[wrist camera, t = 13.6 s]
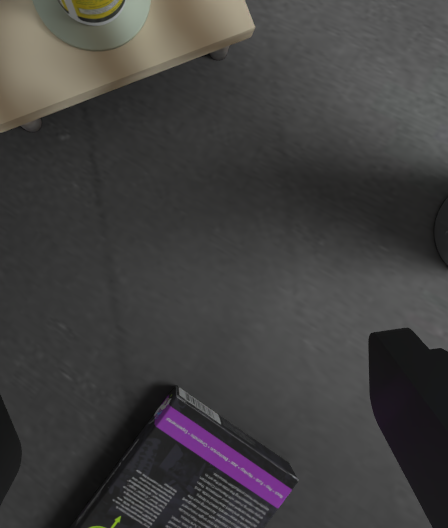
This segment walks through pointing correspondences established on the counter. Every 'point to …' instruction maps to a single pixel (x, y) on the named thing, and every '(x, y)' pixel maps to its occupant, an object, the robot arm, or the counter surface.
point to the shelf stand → (102, 50)
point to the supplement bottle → (93, 10)
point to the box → (190, 475)
